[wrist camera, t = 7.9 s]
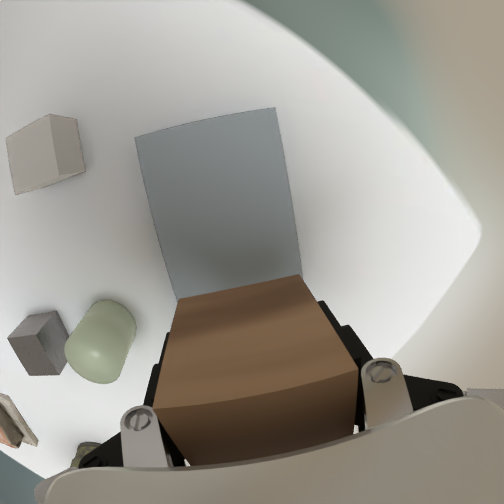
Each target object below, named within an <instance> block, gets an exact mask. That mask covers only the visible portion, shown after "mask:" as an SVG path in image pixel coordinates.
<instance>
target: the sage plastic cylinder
mask: <svg viewBox="0 0 504 504" xmlns="http://www.w3.org/2000/svg"><path fill="white" fill-rule="evenodd" d="M135 334H136V323H135V320H134V318H133V316H132V315H131V313H130V312H129V311H128V310H127V309H126V308H125V307H124V306H122V305H121V304H119V303H117V302H114V301H110V300H101V301H98V302H96V303H94V304H93V305H92V306H91V307H90V309H89V310H88V312H87V313H86V314H85V316H84V317H83V318H82V320H81V321H80V323H79V324H78V325H77V327H76V328H75V330H74V331H73V333H72V334H71V335H70V337H69V338H68V340H67V341H66V343H65V347H64V351H65V356H66V359H67V361H68V363H69V364H70V366H71V367H72V368H73V369H74V371H75V372H77V373H78V374H79V375H80V376H82V377H83V378H85V379H87V380H89V381H91V382H94V383H99V384H108V383H112V382H114V381H115V380H117V379H118V377H119V375H120V373H121V370H122V368H123V365H124V362H125V360H126V357H127V354H128V352H129V349H130V347H131V344H132V342H133V339H134V337H135Z"/></svg>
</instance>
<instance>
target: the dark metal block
mask: <svg viewBox="0 0 504 504" xmlns="http://www.w3.org/2000/svg"><path fill="white" fill-rule="evenodd" d="M68 338H69V335H68V333H67V331H66V329H65V327H64V325H63V323H62V321H61V319H60V317H59V315H58V312H57V311H52V312H47V313H41V314H36V315H30V316H27V317H26V318H25V319H24V320H23V321H22V322H21V324H20V325H19V326H18V327H17V328H16V329H15V330H14V331H13V332H12V333H11V334H10V335H9V336H8V338H7V339H8V341H9V342H10V344H11V346H12V348H13V350H14V351H15V353H16V355H17V356H18V358H19V360H20V362H21V363H22V365H23V366H24V368H25V370H26V371H27V373H28V374H29V376H42V375H60V373H61V372H62V370H63V368H64V366H65V365H66V363H67V359H66V356H65V351H64V347H65V343H66V341H67V340H68Z"/></svg>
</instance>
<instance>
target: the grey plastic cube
mask: <svg viewBox="0 0 504 504" xmlns="http://www.w3.org/2000/svg"><path fill="white" fill-rule="evenodd" d="M6 145H7V153H8V159H9V166H10V171H11V177H12V182H13V187H14V192H15V195H18V194H21V193H25V192H29V191H33V190H36V189H40V188H44V187H47V186H49V185H52V184H54V183H56V182H59V181H61V180H64V179H66V178H69V177H72V176H74V175H77V174H79V173H82V172H85V171H86V170H85V165H84V160H83V155H82V150H81V144H80V138H79V132H78V126H77V119H73V118H68V117H63V116H58V115H53V114H48V115H46V116H44V117H42V118H40V119H38V120H36V121H35V122H33V123H31V124H29V125H27V126H26V127H24V128H22V129H20V130H19V131H17V132H15V133H13V134H12V135H10V136H9V137H7V138H6Z"/></svg>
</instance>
